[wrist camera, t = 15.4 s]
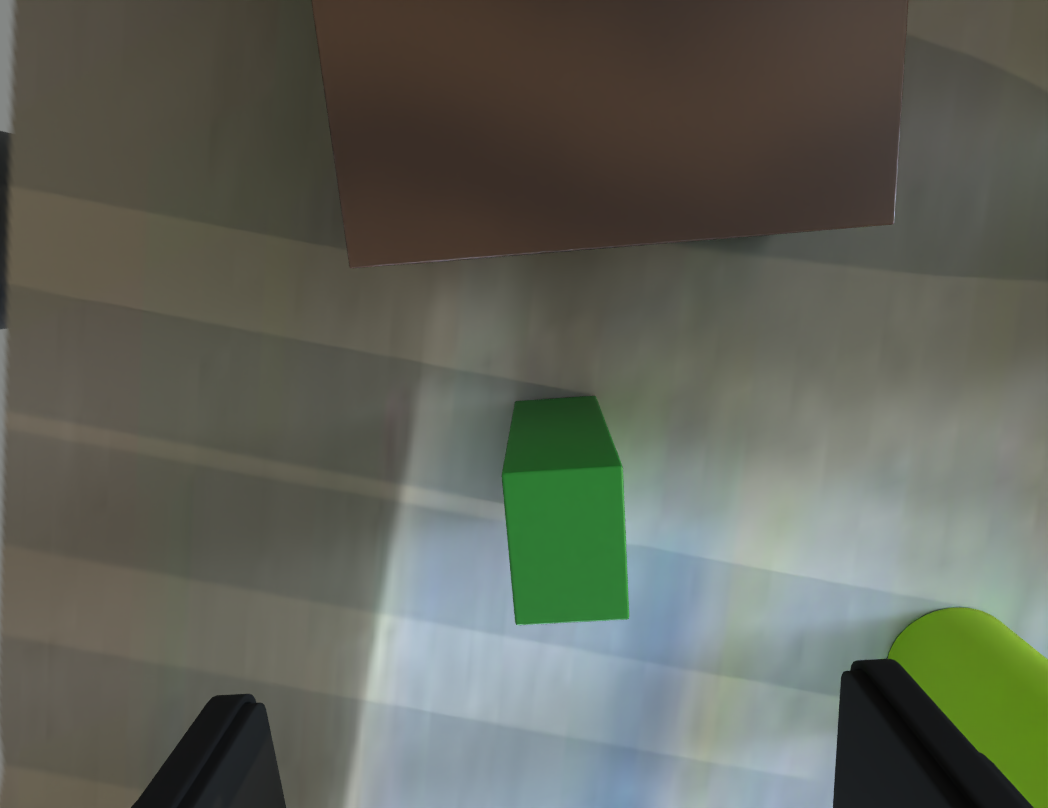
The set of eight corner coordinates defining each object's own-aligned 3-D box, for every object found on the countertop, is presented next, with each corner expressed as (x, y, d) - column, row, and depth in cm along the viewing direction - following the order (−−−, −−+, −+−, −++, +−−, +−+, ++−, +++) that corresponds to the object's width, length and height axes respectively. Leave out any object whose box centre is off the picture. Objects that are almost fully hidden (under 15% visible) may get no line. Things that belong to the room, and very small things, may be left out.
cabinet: (363, -157, 22) (250, -417, 13) (781, -205, 21) (941, -512, 13) (413, 263, 25) (348, 268, 17) (774, 234, 24) (894, 224, 16)
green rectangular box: (514, 400, 26) (501, 473, 18) (595, 395, 26) (622, 465, 17) (523, 508, 27) (515, 626, 19) (601, 503, 27) (629, 620, 19)
